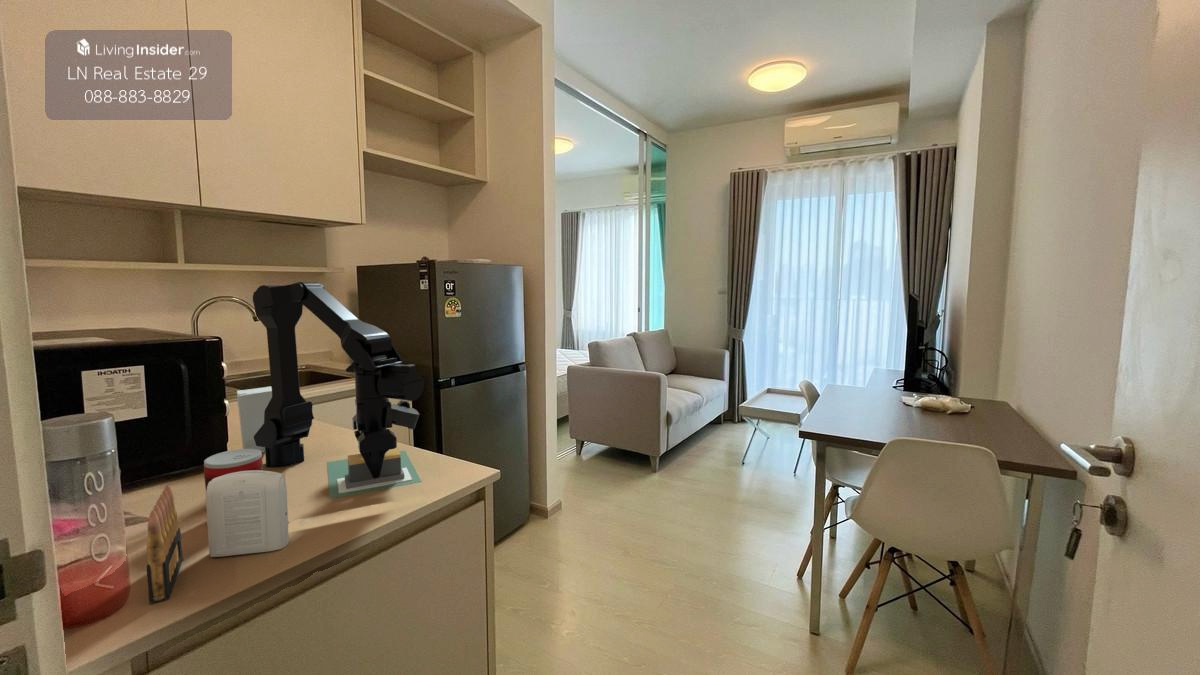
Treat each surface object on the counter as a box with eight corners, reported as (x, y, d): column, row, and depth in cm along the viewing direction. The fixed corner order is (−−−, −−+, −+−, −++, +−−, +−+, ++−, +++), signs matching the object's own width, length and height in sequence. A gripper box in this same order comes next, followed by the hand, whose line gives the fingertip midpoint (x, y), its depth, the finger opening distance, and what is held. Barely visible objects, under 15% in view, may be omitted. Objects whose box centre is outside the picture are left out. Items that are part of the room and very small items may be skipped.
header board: (330, 506, 88) (329, 476, 88) (327, 468, 105) (326, 443, 105) (421, 488, 97) (421, 461, 96) (405, 456, 114) (404, 433, 113)
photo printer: (293, 537, 78) (289, 463, 76) (284, 551, 74) (280, 474, 72) (217, 546, 75) (212, 469, 73) (204, 561, 71) (197, 480, 69)
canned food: (275, 510, 86) (272, 451, 85) (228, 532, 79) (224, 467, 78) (245, 503, 89) (241, 445, 88) (197, 523, 81) (192, 460, 80)
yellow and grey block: (349, 482, 92) (348, 462, 92) (348, 474, 96) (347, 455, 95) (401, 473, 97) (400, 454, 97) (397, 466, 101) (397, 448, 100)
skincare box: (281, 443, 121) (278, 384, 119) (285, 449, 116) (281, 389, 114) (240, 449, 115) (236, 389, 114) (241, 457, 111) (237, 394, 109)
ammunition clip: (166, 562, 70) (159, 484, 69) (183, 559, 71) (176, 481, 70) (149, 605, 61) (140, 515, 60) (168, 600, 62) (160, 512, 61)
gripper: (424, 401, 91) (426, 481, 93) (407, 382, 107) (409, 450, 108) (358, 408, 85) (361, 493, 87) (351, 387, 101) (353, 459, 103)
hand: (374, 471), depth 96 cm, fingers open, 6 cm apart
